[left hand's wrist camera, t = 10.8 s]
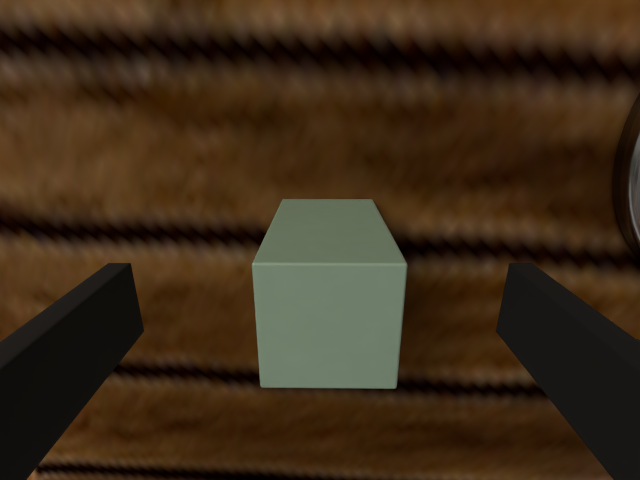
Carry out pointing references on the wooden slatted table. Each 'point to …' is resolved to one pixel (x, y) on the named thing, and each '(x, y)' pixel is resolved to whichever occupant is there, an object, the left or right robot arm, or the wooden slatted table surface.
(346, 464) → the wooden slatted table surface
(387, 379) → the sage block
